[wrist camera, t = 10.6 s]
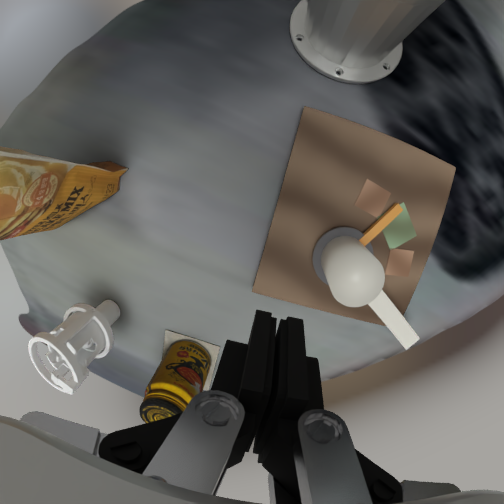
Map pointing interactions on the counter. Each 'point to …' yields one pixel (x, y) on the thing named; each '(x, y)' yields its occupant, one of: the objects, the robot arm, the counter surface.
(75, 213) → the pancake mix bag
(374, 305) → the white handled piece
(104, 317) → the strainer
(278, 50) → the counter surface
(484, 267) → the counter surface
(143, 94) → the counter surface
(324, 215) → the brown square board
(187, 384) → the condiment
